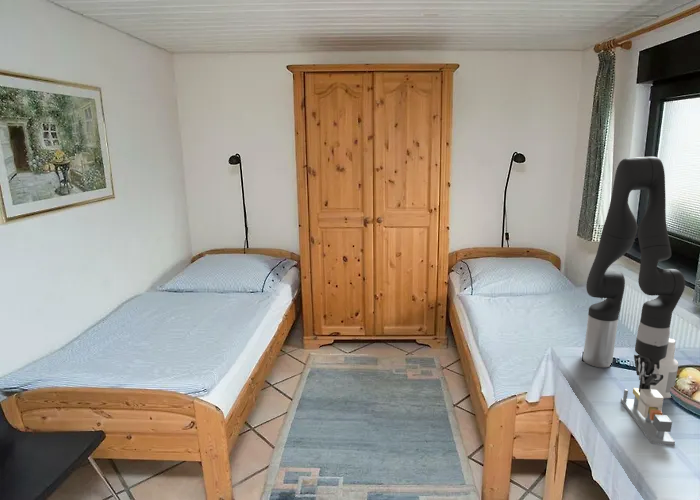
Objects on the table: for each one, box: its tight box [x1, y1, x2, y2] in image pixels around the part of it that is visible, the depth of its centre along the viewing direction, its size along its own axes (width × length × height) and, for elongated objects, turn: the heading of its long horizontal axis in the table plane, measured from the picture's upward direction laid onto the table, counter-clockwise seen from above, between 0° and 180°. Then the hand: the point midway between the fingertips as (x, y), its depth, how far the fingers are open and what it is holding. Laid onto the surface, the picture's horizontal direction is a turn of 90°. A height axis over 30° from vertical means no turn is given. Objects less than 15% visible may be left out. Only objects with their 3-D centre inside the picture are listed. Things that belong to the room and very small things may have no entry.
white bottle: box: [650, 337, 679, 399], centre depth 150 cm, size 7×7×18 cm
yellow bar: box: [632, 387, 673, 433], centre depth 136 cm, size 18×3×3 cm, turn 173°
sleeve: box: [638, 389, 665, 418], centre depth 136 cm, size 4×4×6 cm
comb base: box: [620, 388, 676, 446], centre depth 137 cm, size 20×6×4 cm, turn 173°
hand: (643, 393), depth 140 cm, fingers closed
